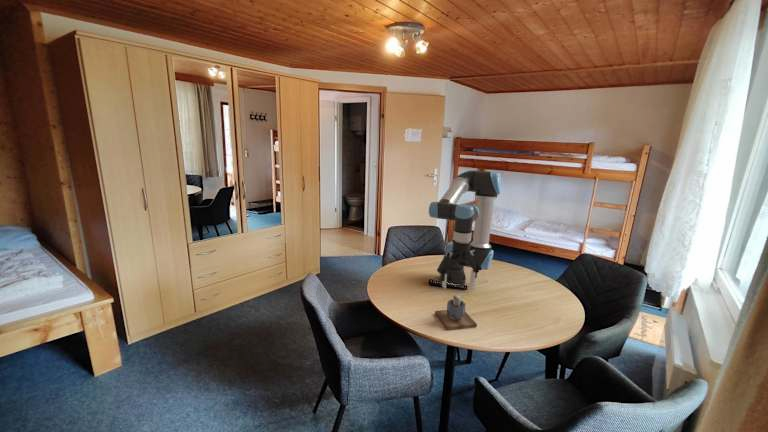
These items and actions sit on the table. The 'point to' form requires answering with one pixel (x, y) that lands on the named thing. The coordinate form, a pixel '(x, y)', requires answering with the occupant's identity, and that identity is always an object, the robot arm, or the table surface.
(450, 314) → the collar
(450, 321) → the shaft block
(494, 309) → the table surface
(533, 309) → the table surface
